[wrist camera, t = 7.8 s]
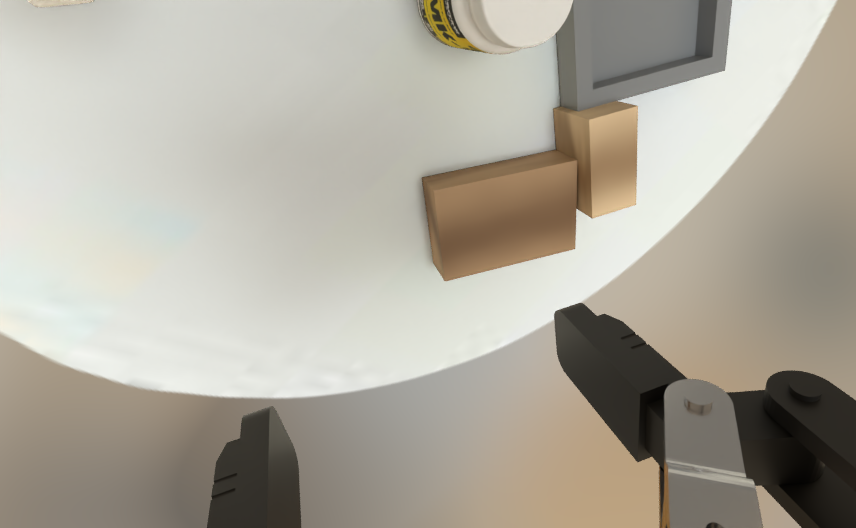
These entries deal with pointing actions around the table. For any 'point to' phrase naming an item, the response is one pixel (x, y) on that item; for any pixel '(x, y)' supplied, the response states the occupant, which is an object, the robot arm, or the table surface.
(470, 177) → the flat cardboard carton
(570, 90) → the tray
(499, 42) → the supplement bottle
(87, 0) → the white plastic bottle
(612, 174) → the tan rectangular block
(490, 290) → the table surface
